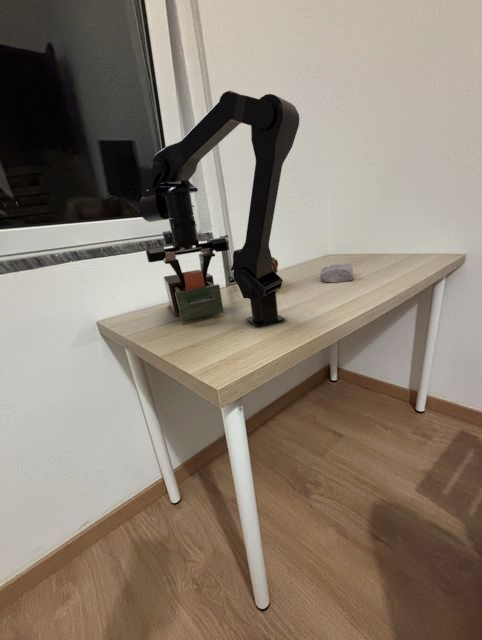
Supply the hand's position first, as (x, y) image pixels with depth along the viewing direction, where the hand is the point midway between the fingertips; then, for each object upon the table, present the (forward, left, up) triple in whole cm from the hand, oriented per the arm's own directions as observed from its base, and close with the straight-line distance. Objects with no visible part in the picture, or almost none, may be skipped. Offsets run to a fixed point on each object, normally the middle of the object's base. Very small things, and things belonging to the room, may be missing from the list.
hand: (194, 286), depth 75 cm
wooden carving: (+15, -27, -8) cm, 32 cm away
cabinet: (+11, 0, -8) cm, 13 cm away
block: (0, 0, -1) cm, 1 cm away
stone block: (+10, -47, -8) cm, 49 cm away
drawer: (-1, 0, -7) cm, 7 cm away
